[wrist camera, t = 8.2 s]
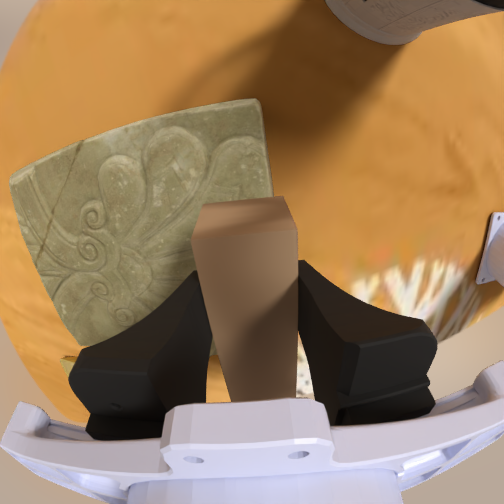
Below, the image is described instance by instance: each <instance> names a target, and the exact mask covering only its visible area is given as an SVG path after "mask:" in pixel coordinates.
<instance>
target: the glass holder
mask: <svg viewBox="0 0 504 504" xmlns="http://www.w3.org/2000/svg"><path fill="white" fill-rule="evenodd" d="M325 2H326V4H327V6H328V7H329V8H330V10H331V11H332V12H333V14H334V15H335V16H336V17H337V18H338V19H339V20H340V21H341V22H343V23H344V24H345V25H346V26H347V27H349V28H350V29H351V30H353V31H355V32H356V33H358V34H359V35H361V36H363V37H365V38H367V39H370V40H372V41H375V42H378V43H383V44H387V45H401V44H406V43H409V42H411V41H413V40H414V39H416V38H417V37H418V36H419V35H420V34H421V33H422V31H425V30H428V29H432V28H435V27H438V26H441V25H445V24H448V23H452V22H455V21H459V20H463V19H467V18H471V17H476V16H480V15H485V14H490V13H495V12H501V11H504V0H325Z"/></svg>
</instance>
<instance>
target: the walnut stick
mask: <svg viewBox="0 0 504 504" xmlns="http://www.w3.org/2000/svg"><path fill="white" fill-rule="evenodd" d="M191 245H192V249H193V254H194V259H195V263H196V268H197V272H198V277H199V281H200V285H201V290H202V294H203V298H204V302H205V306H206V311H207V315H208V319H209V323H210V327H211V330H212V334H213V338H214V342H215V346H216V349H217V353H218V357H219V361H220V364H221V368H222V371H223V375H224V378H225V382H226V385H227V389H228V392H229V396H230V399H231V402H242V401H257V400H268V399H278V398H287V397H294V398H296V383H297V351H298V232H297V227H296V225H295V222H294V220H293V218H292V215H291V213H290V211H289V208H288V206H287V204H286V202H285V199H284V197H283V196H276V197H265V198H254V199H244V200H235V201H225V202H216V203H208V204H203V205H202V208H201V211H200V214H199V217H198V220H197V222H196V225H195V228H194V231H193V234H192V237H191Z"/></svg>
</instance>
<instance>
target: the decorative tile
mask: <svg viewBox="0 0 504 504" xmlns="http://www.w3.org/2000/svg"><path fill="white" fill-rule="evenodd" d="M9 186H10V191H11V195H12V199H13V203H14V207H15V210H16V214H17V218H18V222H19V225H20V229H21V233H22V236H23V238H24V240H25V243H26V245H27V247H28V250H29V252H30V254H31V256H32V260H33V263H34V265H35V267H36V269H37V271H38V273H39V275H40V277H41V280H42V282H43V285H44V287H45V289H46V291H47V293H48V295H49V297H50V298H51V300H52V301H53V304H54V306H55V308H56V310H57V312H58V314H59V316H60V318H61V320H62V321H63V323H64V325H65V327H66V328H67V329H68V330H69V332H70V333H71V334H72V335H73V336H74V338H75V339H76V341H77V342H78V344H79V345H81V346H92V345H95V344H97V343H100V342H102V341H105V340H107V339H109V338H111V337H113V336H115V335H117V334H119V333H121V332H123V331H124V330H126V329H128V328H129V327H131V326H132V325H134V324H136V323H137V322H139V321H140V320H142V319H143V318H145V317H146V316H147V315H149V314H150V313H151V312H152V311H154V310H155V309H156V308H157V307H158V306H160V305H161V304H162V303H163V302H164V301H165V300H166V299H167V298H168V297H169V296H170V295H171V294H172V293H173V292H174V291H175V290H176V289H177V288H178V287H179V286H180V285H181V284H182V282H183V281H184V280H185V279H186V278H187V277H188V276H189V275H190V274H191V273H192V272H193V271H194V270H197V268H196V263H195V259H194V254H193V249H192V245H191V237H192V234H193V231H194V228H195V225H196V222H197V220H198V217H199V214H200V211H201V208H202V205H203V204H208V203H216V202H225V201H235V200H244V199H254V198H265V197H274V192H273V184H272V176H271V169H270V162H269V155H268V149H267V142H266V134H265V127H264V120H263V113H262V107H261V104H260V102H259V101H258V100H257V99H256V98H255V99H241V100H234V101H227V102H221V103H216V104H210V105H205V106H200V107H195V108H190V109H185V110H181V111H176V112H172V113H168V114H164V115H160V116H156V117H152V118H148V119H144V120H141V121H137V122H134V123H131V124H128V125H125V126H121V127H118V128H115V129H112V130H110V131H107V132H104V133H101V134H99V135H96V136H93V137H90V138H88V139H85V140H81V141H78V142H76V143H73V144H71V145H69V146H66V147H64V148H62V149H60V150H57V151H55V152H53V153H51V154H49V155H47V156H45V157H43V158H41V159H39V160H37V161H35V162H33V163H31V164H29V165H27V166H25V167H24V168H22V169H20V170H18V171H16V172H15V173H13V174H12V175H11V177H10V180H9ZM211 355H218V353H217V349H216V346H215V342H214V338H213V337H212V343H211V349H210V355H209V357H210V356H211Z"/></svg>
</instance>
